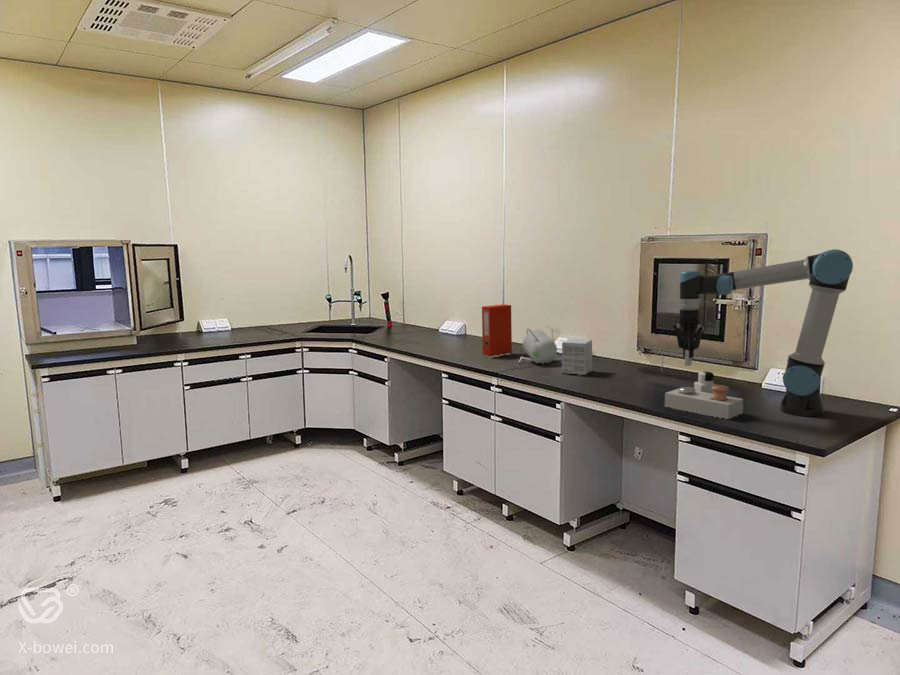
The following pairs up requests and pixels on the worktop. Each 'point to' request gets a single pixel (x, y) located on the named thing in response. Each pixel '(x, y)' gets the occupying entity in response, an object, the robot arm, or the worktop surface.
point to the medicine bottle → (704, 382)
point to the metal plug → (687, 390)
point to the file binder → (496, 329)
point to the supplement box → (577, 356)
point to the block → (704, 404)
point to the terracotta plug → (720, 392)
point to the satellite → (539, 346)
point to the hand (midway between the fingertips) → (688, 365)
